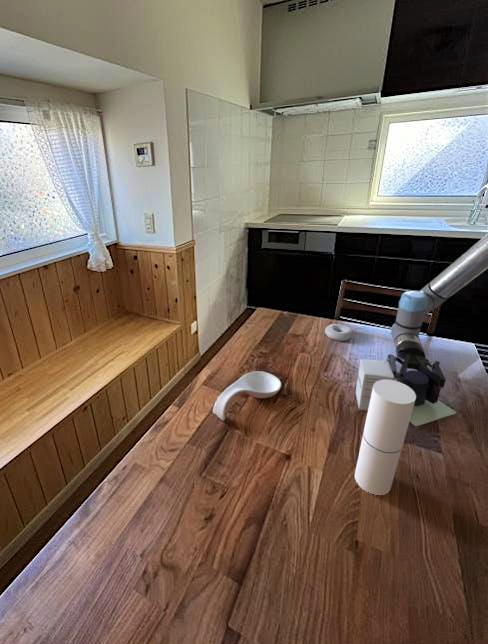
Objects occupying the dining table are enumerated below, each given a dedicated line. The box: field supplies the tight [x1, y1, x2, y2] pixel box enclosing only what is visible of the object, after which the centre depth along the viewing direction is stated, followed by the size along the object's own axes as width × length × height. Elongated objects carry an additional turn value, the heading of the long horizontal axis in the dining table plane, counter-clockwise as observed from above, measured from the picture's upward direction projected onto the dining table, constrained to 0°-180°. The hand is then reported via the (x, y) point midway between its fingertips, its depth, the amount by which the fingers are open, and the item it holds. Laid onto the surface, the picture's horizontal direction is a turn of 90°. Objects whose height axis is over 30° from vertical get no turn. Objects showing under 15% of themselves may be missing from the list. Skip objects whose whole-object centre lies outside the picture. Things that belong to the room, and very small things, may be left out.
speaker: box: [404, 366, 440, 406], centre depth 94 cm, size 8×6×10 cm
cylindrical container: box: [354, 379, 416, 497], centre depth 70 cm, size 7×7×25 cm
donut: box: [324, 323, 354, 342], centre depth 131 cm, size 10×4×10 cm
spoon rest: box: [212, 370, 282, 422], centre depth 100 cm, size 24×12×7 cm, turn 127°
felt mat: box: [409, 399, 458, 428], centre depth 96 cm, size 14×14×1 cm
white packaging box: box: [355, 358, 395, 412], centre depth 94 cm, size 7×7×13 cm
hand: (422, 395), depth 89 cm, fingers closed on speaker, 6 cm apart
